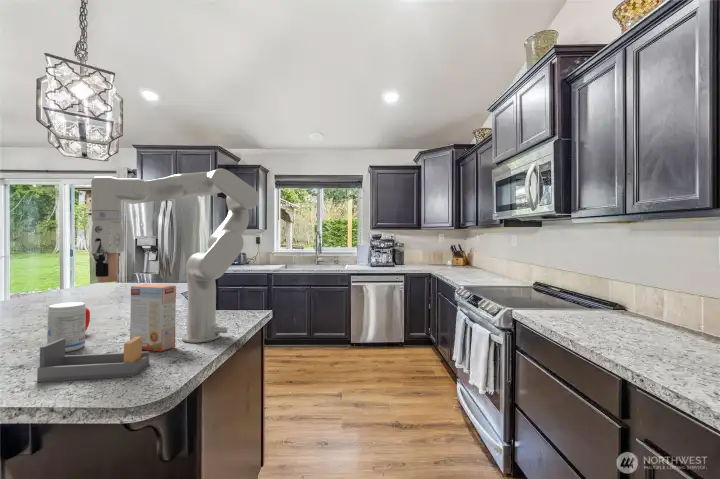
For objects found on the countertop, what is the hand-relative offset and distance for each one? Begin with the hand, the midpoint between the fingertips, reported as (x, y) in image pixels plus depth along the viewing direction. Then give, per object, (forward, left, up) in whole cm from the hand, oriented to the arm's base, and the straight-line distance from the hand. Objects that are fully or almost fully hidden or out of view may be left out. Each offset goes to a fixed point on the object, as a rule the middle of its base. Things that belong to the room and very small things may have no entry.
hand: (107, 274), depth 106 cm
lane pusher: (-13, +14, -24) cm, 31 cm away
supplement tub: (+16, -10, -25) cm, 32 cm away
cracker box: (-11, -7, -25) cm, 28 cm away
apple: (+23, -27, -25) cm, 44 cm away
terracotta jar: (0, 0, -2) cm, 2 cm away
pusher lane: (-5, +14, -25) cm, 29 cm away
